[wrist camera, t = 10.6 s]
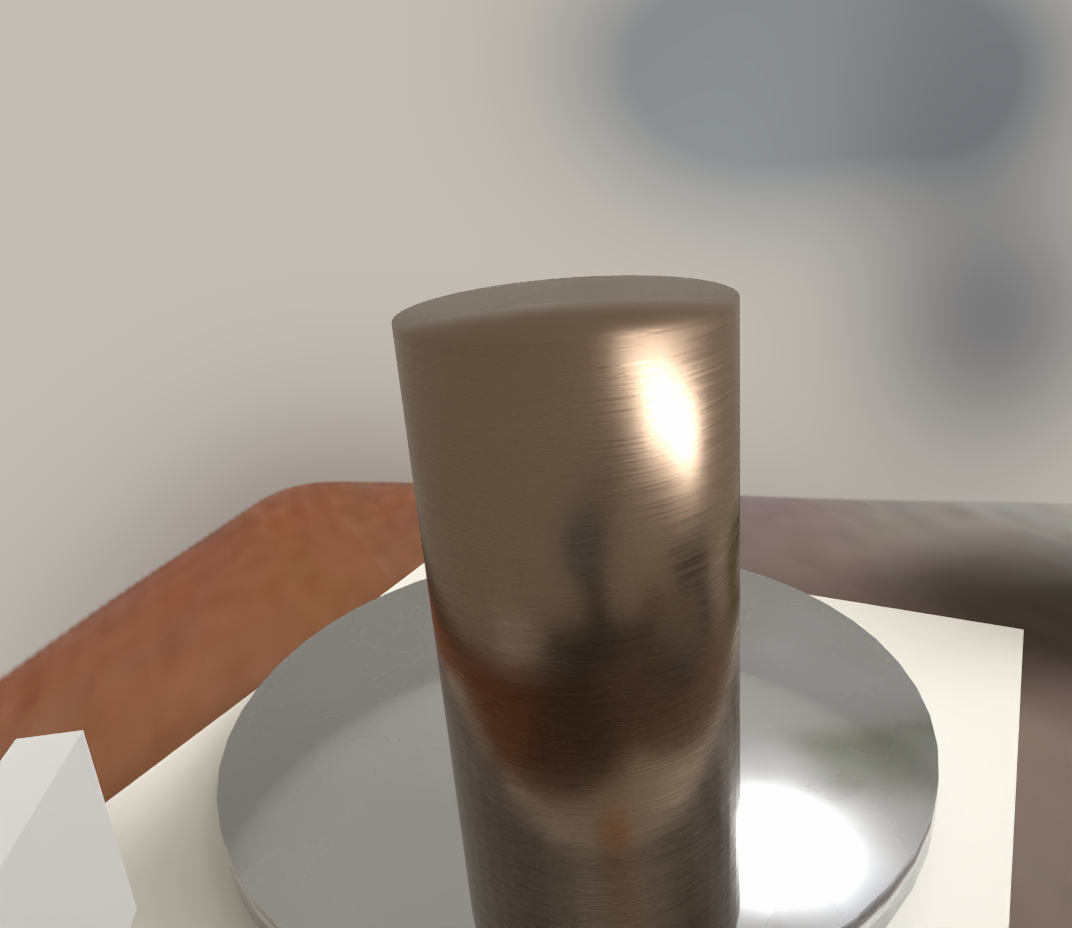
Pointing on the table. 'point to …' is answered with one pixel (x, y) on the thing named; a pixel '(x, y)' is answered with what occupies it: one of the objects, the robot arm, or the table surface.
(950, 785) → the dial board
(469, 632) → the dial
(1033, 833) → the table surface
